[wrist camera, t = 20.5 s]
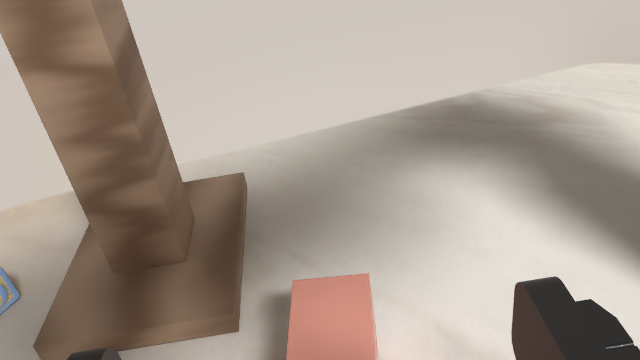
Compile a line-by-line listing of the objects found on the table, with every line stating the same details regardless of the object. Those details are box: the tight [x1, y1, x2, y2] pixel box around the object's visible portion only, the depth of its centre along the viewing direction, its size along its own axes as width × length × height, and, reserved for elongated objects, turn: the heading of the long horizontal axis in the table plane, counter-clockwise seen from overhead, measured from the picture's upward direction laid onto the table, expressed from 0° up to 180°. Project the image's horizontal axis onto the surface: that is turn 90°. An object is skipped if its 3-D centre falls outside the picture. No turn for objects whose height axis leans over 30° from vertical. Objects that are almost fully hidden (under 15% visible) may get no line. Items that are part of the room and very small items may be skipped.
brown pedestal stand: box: [0, 0, 247, 360], centre depth 31 cm, size 12×16×32 cm
